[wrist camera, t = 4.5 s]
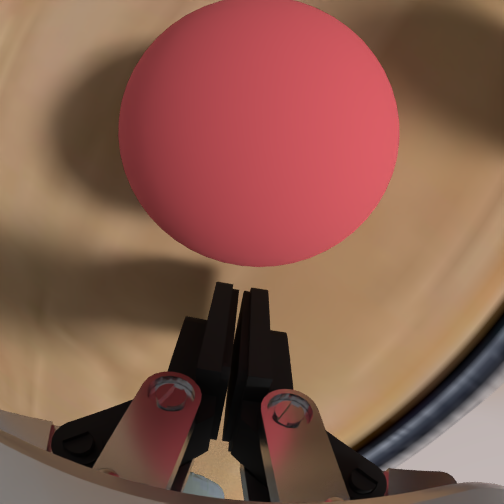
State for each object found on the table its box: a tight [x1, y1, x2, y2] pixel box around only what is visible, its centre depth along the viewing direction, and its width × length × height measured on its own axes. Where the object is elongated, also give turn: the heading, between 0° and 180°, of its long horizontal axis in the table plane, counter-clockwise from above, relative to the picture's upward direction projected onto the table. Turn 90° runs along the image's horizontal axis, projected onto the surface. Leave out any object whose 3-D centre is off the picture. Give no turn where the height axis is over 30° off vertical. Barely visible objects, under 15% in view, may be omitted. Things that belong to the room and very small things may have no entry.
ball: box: [118, 0, 399, 267], centre depth 7 cm, size 6×6×6 cm
